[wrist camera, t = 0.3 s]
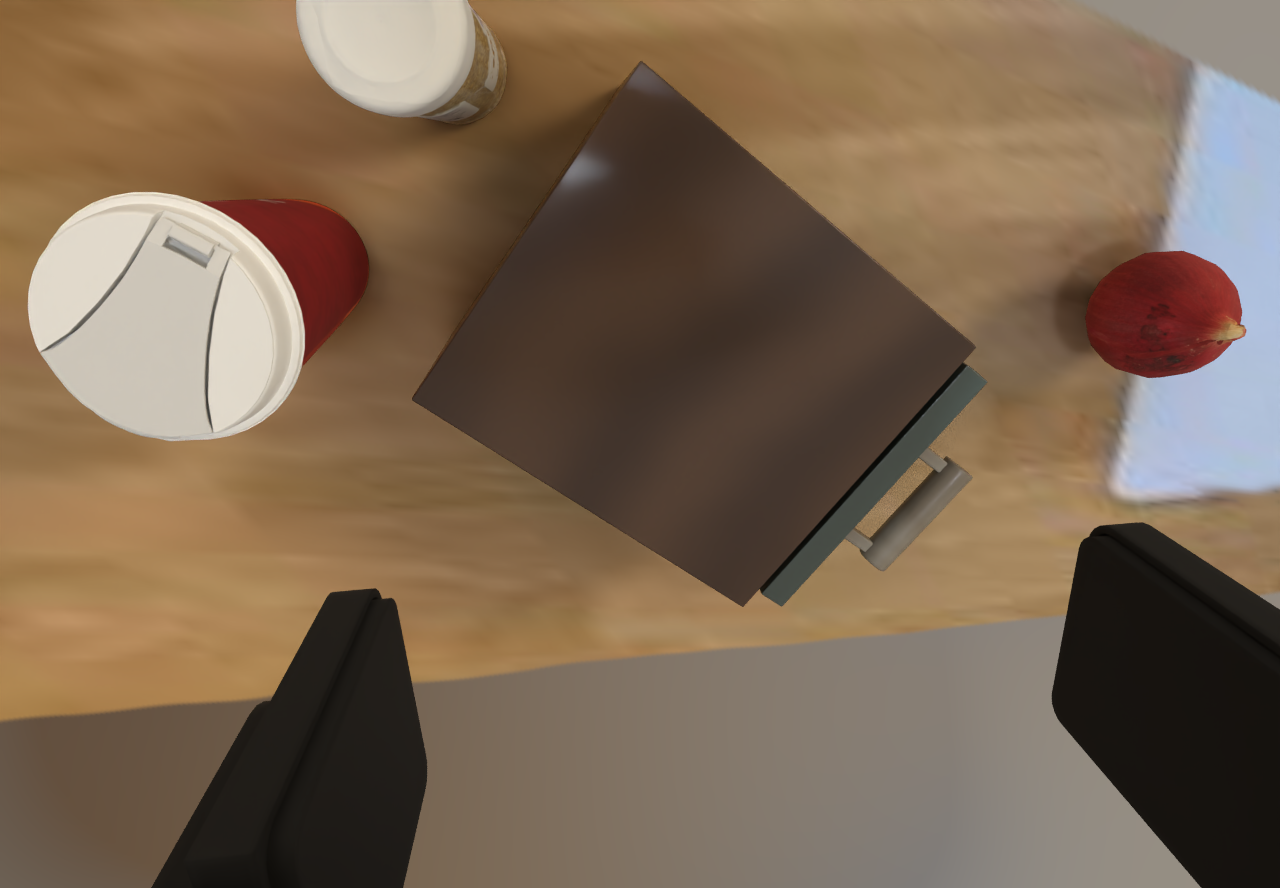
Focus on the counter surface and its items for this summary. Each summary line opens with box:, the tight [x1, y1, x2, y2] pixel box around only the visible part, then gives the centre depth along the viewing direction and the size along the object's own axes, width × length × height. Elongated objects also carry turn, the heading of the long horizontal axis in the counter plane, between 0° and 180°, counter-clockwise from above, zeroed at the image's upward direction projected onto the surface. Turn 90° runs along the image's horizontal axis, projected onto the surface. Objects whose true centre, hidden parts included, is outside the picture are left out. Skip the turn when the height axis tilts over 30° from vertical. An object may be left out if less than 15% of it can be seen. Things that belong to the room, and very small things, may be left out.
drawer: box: [760, 363, 987, 606], centre depth 34 cm, size 19×13×8 cm, turn 53°
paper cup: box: [28, 192, 369, 441], centre depth 29 cm, size 8×8×14 cm
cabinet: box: [412, 61, 976, 607], centre depth 33 cm, size 16×14×10 cm
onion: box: [1085, 251, 1246, 378], centre depth 35 cm, size 6×6×8 cm
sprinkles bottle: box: [296, 0, 507, 124], centre depth 26 cm, size 5×5×13 cm
